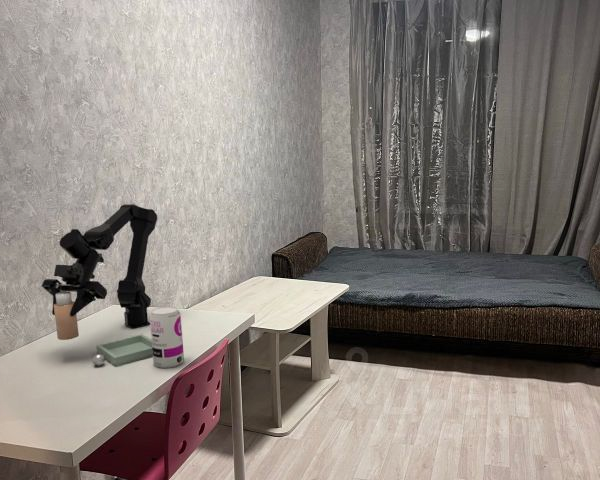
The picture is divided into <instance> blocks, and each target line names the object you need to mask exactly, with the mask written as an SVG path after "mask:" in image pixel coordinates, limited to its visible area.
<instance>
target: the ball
mask: <svg viewBox="0 0 600 480" xmlns="http://www.w3.org/2000/svg"><path fill="white" fill-rule="evenodd" d="M105 361H106V359H105V358H104V356H103V355H101V354H95V355H94V356H93V357H92V363H93V365H94V366H95V367H99V366H100V367H101V366H103V365H104V363H105Z"/></svg>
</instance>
